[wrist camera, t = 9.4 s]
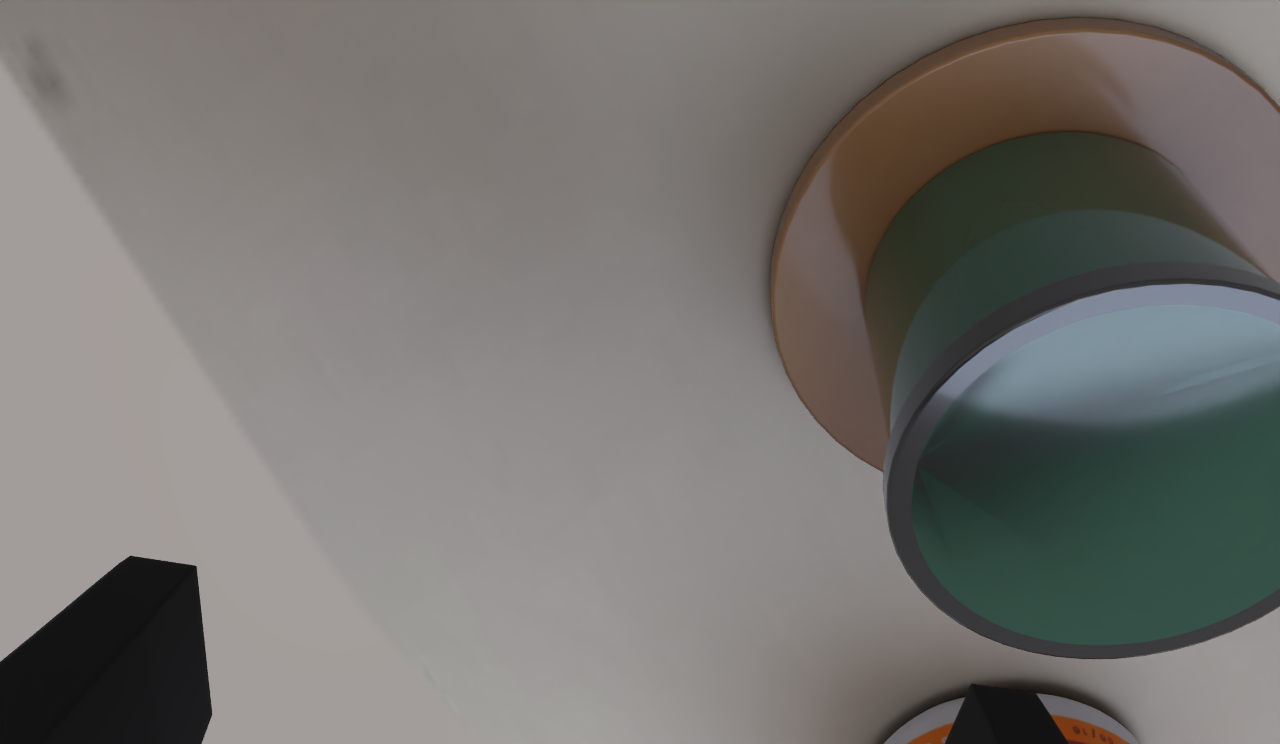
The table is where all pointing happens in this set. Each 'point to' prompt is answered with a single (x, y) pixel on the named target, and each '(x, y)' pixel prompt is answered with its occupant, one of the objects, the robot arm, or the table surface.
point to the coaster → (977, 119)
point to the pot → (1078, 401)
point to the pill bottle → (1085, 728)
